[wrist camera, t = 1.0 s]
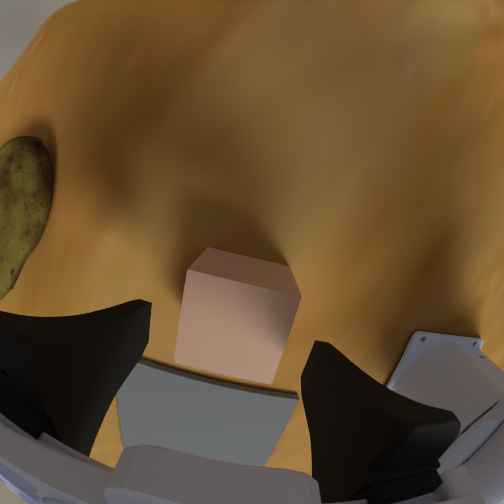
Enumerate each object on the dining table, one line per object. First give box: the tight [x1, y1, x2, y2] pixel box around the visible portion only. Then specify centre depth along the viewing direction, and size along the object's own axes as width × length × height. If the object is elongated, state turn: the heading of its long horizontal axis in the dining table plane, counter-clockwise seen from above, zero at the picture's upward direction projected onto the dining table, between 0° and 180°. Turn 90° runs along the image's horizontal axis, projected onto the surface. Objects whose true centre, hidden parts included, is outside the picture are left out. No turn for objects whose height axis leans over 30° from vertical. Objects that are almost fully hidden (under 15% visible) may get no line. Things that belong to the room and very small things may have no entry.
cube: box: [174, 247, 301, 384], centre depth 15 cm, size 5×5×5 cm
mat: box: [117, 358, 299, 467], centre depth 20 cm, size 14×14×1 cm
